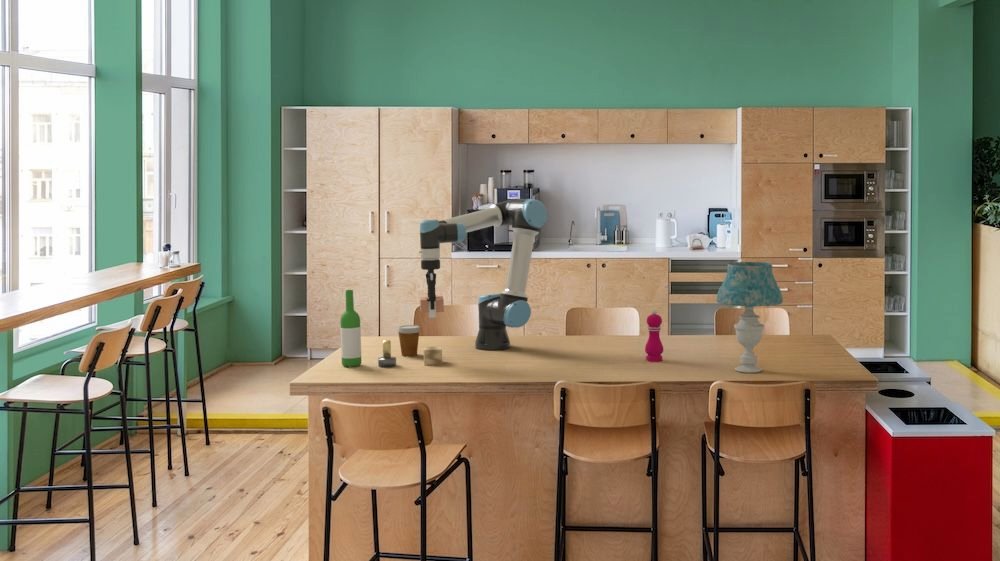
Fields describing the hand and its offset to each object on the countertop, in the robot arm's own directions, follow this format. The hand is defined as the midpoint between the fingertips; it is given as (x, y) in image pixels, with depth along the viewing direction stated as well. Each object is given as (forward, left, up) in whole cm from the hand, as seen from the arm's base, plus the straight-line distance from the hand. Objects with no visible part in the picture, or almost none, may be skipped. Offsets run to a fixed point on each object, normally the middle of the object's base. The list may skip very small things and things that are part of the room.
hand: (432, 315), depth 391 cm
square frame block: (0, 0, +2) cm, 2 cm away
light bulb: (+18, +2, -19) cm, 26 cm away
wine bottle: (+32, -1, -19) cm, 37 cm away
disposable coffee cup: (+9, -19, -19) cm, 28 cm away
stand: (0, 0, -19) cm, 19 cm away
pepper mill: (-87, +11, -19) cm, 90 cm away
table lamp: (-116, +37, -19) cm, 123 cm away
